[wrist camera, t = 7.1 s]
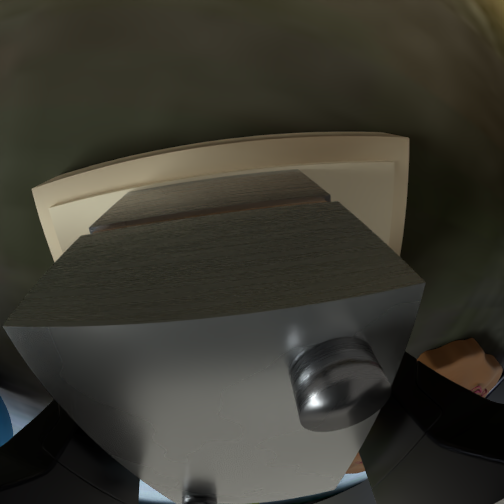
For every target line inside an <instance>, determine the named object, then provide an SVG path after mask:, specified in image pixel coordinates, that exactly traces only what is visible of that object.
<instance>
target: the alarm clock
mask: <svg viewBox="0 0 504 504" xmlns="http://www.w3.org/2000/svg"><path fill="white" fill-rule="evenodd" d="M12 437H13V429H12V424H11V419H10V416H9V413H8V410H7V408H6V406H5V404H4V402H3V400H2V398H1V396H0V446H2V445H4V444H5V443H6V442H8V441H9V440H10V439H11V438H12Z"/></svg>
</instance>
